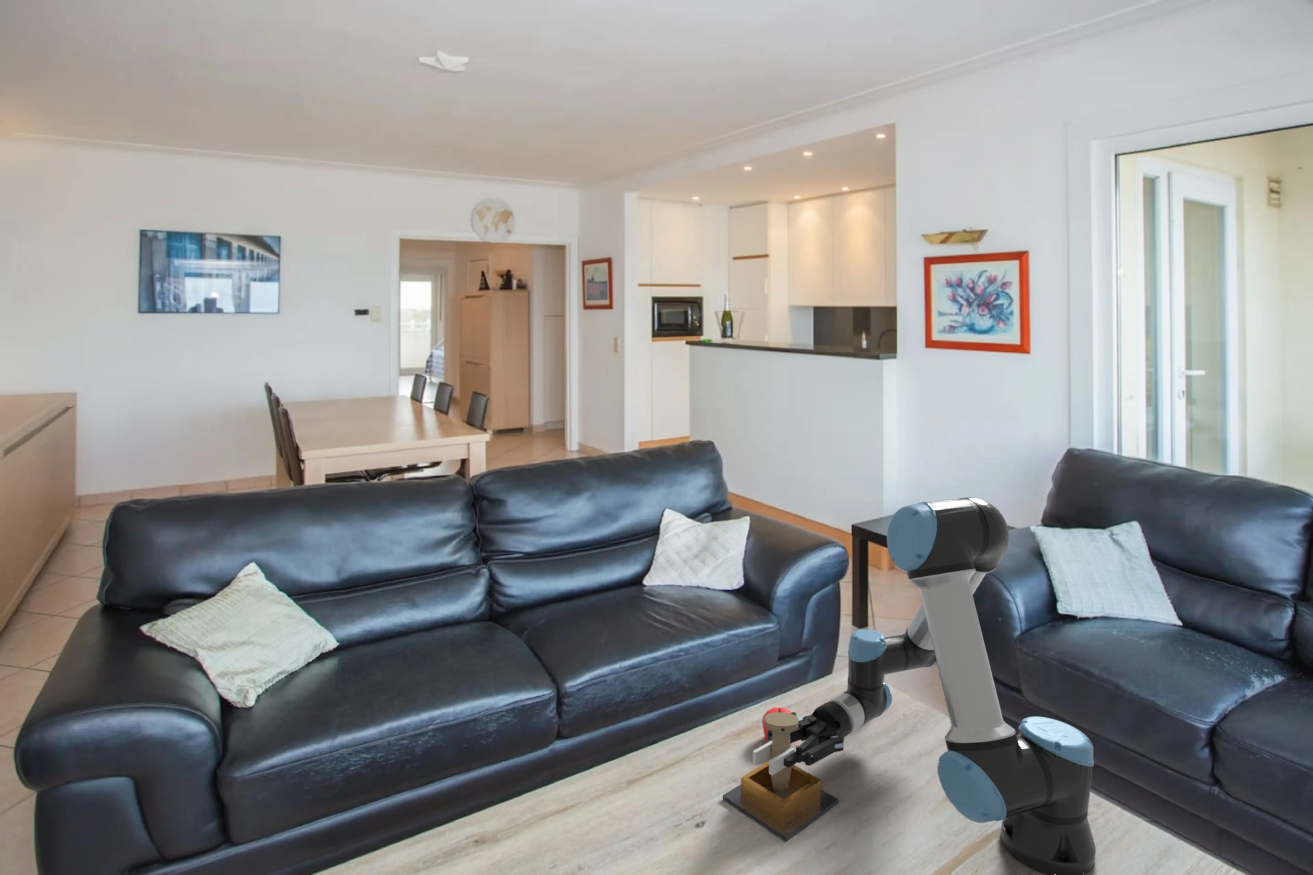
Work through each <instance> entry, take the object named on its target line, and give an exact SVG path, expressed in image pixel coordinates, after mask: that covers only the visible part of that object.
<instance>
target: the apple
mask: <svg viewBox="0 0 1313 875" xmlns="http://www.w3.org/2000/svg"><path fill="white" fill-rule="evenodd" d="M775 712H784V713H791V712H792V711H791V710H789V709H787V708H785V707H772V708H770V709H769V710H766V711H765V713H764V714H763V716H762V719H761V720H762V721H761V722H762V728H763V733H764V734H763V735H764V740H765V742H766V741H767V732H768V730H769V729H768V728H767V727H766V726H765V716H766V715H767V714H770V713H775Z"/></svg>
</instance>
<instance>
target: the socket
mask: <svg viewBox="0 0 1313 875" xmlns="http://www.w3.org/2000/svg"><path fill="white" fill-rule="evenodd" d="M770 760H771V759H769V760H768V761H766V762H764V763H763V764H761V765H759V766H758V767H756V768H755V769H752V770H751V771H749V772H748V773H746V774H744V775H742V776H741V777H740V784H739V785H737V786H736V787H734V788H732V789H731V790H729V791H727V792H725V793H724V794H723V795H722V800H723V801H724V802H725V803H727V804H728V805H729V806H731V807H733V808H735V809H736V810H738V811H739V812H741V813H742V814H744V815H745V816H747V817H748V818H750V819H751V820H753V821H754V822H756V824H758V825H759V826H761V827H762V828H764V829H765V830H767V831H769V832H770V833H771V834H773V835H775V836H776V837H777V838H779V839H780V840H782V841H783V842H787V841H789V840H790V839H792V838H793V837H794V836H795V835H797V834H799V833H800V832H801V831H803V830H804V829H806V828H807V827H808V826H810V825H811V824H813V823H814V822H815V821H817V820H818V819H820V818H821V817H822V816H824V815H825V814H826V813H828V812H829V811H831V810H832V809H833V808H836V807H837V806H838V805H839V804H840V802H839V801H840V799H839V798H837V797H836V796H834V795H832V794H831V793H829V792H827V791H826V790H823V789H822V788H821V787H822V780H821V778H820V779H819V778H818V777H816V776H814V775H813V774H811V773H809V772H808V771H806V770H804V769H802V768H801V767H799V766H796V764H794V765H793V766H791V775H790V780H789V783H788V785H789V789H788V791H785V792H783V793H779V792H777V791H774V790H773V786H772V779H771V775H770V774H769V761H770Z"/></svg>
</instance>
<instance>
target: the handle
mask: <svg viewBox="0 0 1313 875" xmlns="http://www.w3.org/2000/svg"><path fill="white" fill-rule="evenodd" d="M798 717H799V716H797V714H796V715H793V714H790V713H784V712H775V713H770V714H767V715H766V716H765V726H766V727H767V728H768V729H769V730H772V732H773V736H772V750H771V757H770V760H771V759H773V758H775V757H776V756H778V755H780V754H781V753H783V752H785V751H786V750H788V749H790V748H791V744H790V732H791V731H794V730H796V729H797V728H798V722H799V721H798ZM790 775H791V767H788V768H787V767H785V768H783V769H782V770H780V771H779V772H777V773H775V774H774V775H771V779H772V786H773V790H774V791H777V792H779V793H783V792H785V791H788V789H789V785H788V783H789V780H790Z"/></svg>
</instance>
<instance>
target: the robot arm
mask: <svg viewBox="0 0 1313 875" xmlns="http://www.w3.org/2000/svg"><path fill="white" fill-rule="evenodd" d="M887 527H888V528H887V531H886V532H887V534H886V544H887V545H886V546H887V550H888V551H887V552H888V555H889V556H890V559H891V560H892V561H893V562H894V565H895V566H896V568H898V569H900V570H902V571H904V572H906V573H907V578H908V580H909V582H910V583H912V584H913V585H914V586H916V587H917V588H918V590H919V592H920V596H921V600H922V602H921V604H920V605H919V606H918V609H917V610H916V613H915V614H914V616H913V618H912V619H911V621H910V623H909V625H908V626H907V628H906V630H905V632H903V634H898V635H897V634H896V635H893V636H887V637H885V635H883V634H882V633H881V632H879V631H877V630H875V629H864V628H863V629H858V630H855V631H854V632H852V633H851V634H850V637H849V641H848V642H849V643H848V650H847V656H848V664H847V665H848V668H847V669H848V673H847V674H848V676H847V689H846V690H845V691H843V692H841V693H840V694H838V695H836V696H835V697H833V698H831V699H830V700H827V702H824V703H823V704H821V705H820V706H817V707H816V708H815V709H814V711H813V712H812V713H811V714H809V715H804V716H803V717H800V716H797V712H795V711H791V713H790V714H793V715H796V716H797V717H798V721H799V722H798V728H797V729H796V730H794V731H791V732H790V745H791V744H793V743H795V742H797V741H798V742H799V741H801V742H802V743H801V744H800V745H797V744H796V745H795V748H793V747H791V746H790V749H788V750H786V751H785V752H783V753H781V754H780V755H778V756H776V757H775V758H773V759H771V750H772V736H773V732H772V730H768V732H767V741H766V740H765V741H764V742H763V743H761V744H760V746H759V747H758V748H755V749H754V750H753V751H752V765H754V766H757V765H759V764H760V763H763V762H764V761H766V760H767V759H769V758H770V759H769V760H770V761H769V760H768V761H769V774H770V775H774V774H775V773H777V772H779V771H780V770H782V769H783V768H785V767H787V768H788V767H791V766H793V765H796V764H797V763H798V764H801V763H804V764H805V766H808V767H810V766H812V765H814V764H815V763H817V762H820V761H821V760H823V759H824V758H827V757H828V756H831V755H832V754H834V753H838V752H843V751H844V748H845V746H844V744H845V737H847V736H848V735H850V734H851V733H853V732H855V731H857V730H858V729H859V728H861V727H863V726H864V725H866V724H867V723H869V722H871V721H873V720H874V719H876V718H878V717H881V716H882V715H883V713H884V712H886V711H887V710H888V709H890V707H891V704H892V703H893V696H892V695H893V694H892V693H891V691H890V690H891V689H890V687H889V686H888V684H887V683H886V682H885V676H886V675H890V674H895V673H900V672H904V671H911V670H916V669H917V670H918V669H921V668H922V669H923V668H930V667H932V666H934V665H937V670H938V673H939V674H938V675H939V678H940V682H941V687H942V691H943V696H944V700H945V704H946V708H947V713H948V718H949V722H950V728H949V729H948V731H947V733H946V734H945V735H944V741H945V745H946V749H947V751H944V752H943V753H942V754H941V755H940V756H939V759H938V763H937V776H938V779H939V782H940V786H941V788H942V790H943V792H944V795H946V798H947V799H948V800H949V802H950V803H951V805H952V806H953V807H954V808H955V809H956V811H957V812H958V813H960V814H961V815H962V816H963V817H964V818H965V819H968V820H969V821H971V822H975V823H978V824H984V823H989V822H994V821H995V822H1000V821H1001V830H1000V838H1001V839H1000V840H1001V842H1002V844H1003V846H1004V847H1005V848H1006V850H1007V851H1008V853H1010V855H1012V856H1013V857H1014V859H1017V860H1018V861H1019V862H1021V863H1022V864H1024V865H1025V866H1027V867H1028V868H1029V867H1030V868H1031V869H1033V870H1035V871H1038V872H1041V873H1044V874H1047V875H1050V874H1056V875H1080V874H1083V873H1085V874H1087V873H1088V871H1089V872H1090V871H1091V870H1092V869H1093V867H1094V866H1095V863H1094V862H1095V861H1096V854H1097V852H1096V849H1097V848H1096V844H1095V840H1094V836H1093V833H1092V829H1091V826H1090V822H1089V818H1088V814H1089V803H1090V794H1091V787H1092V785H1091V784H1092V777H1093V768H1094V766H1095V761H1094V746H1093V743H1092V742H1091V740H1090V738H1089V737H1088V736H1087V735H1086V734H1085V733H1083V732H1082V731H1081V730H1080V729H1078V728H1076V727H1074V726H1072V725H1071V724H1068V723H1067V722H1063V721H1061V720H1057V719H1054V718H1049V717H1044V716H1037V715H1036V716H1028V717H1025V718H1023V719H1022V720H1021V722H1020V725H1019V726H1018V730H1019V733H1018V734H1017V732H1016V729H1015V728H1013V727H1012V726H1011V725H1009V724H1008V723H1006V721H1004V718H1003V714H1002V710H1001V705H1000V702H999V698H998V694H997V689H996V685H995V681H994V678H993V674H992V670H991V669H992V668H991V666H990V661H989V657H988V652H987V648H986V645H985V641H984V636H983V631H982V629H981V625H980V624H981V623H980V620H979V615H978V612H977V607H976V604H975V600H974V596H973V595H974V594H975V592H976V590H977V588H978V587H979V586H980V584H981V582H982V581H983V579H985V578H984V577H985V576H986V574H990V573H992V572H994V571H995V570H996V569H997V568H998V566H999V564H1000V563H1001V562H1002V560H1003V558H1004V556H1005V554H1006V551H1007V549H1008V546H1009V540H1010V539H1009V538H1010V534H1009V533H1010V532H1009V527H1008V523H1007V521H1006V519H1005V517H1004V515H1003V514H1002V513H1001V511H1000V510H999V509H998V508H997V507H996V506H994V505H993V504H992V503H990V502H988V501H986V500H984V499H980V498H977V497H969V496H968V497H961V498H956V499H955V498H953V499H945V500H943V499H941V500H933V501H921V502H918V503H913V504H908V505H905V506H902V507H901V508H899V509H897V511H895V513H894V514H893V515H892V516H891V520H890V522H889V523H888V526H887ZM1093 865H1094V866H1093ZM1091 868H1092V869H1091ZM1086 872H1087V873H1086ZM1083 875H1084V874H1083Z"/></svg>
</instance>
